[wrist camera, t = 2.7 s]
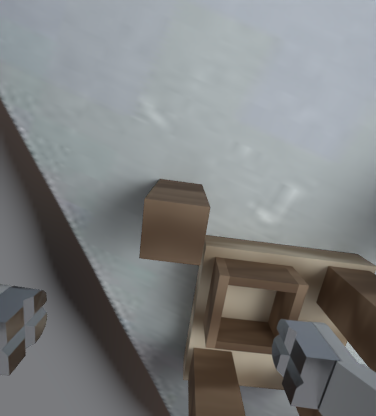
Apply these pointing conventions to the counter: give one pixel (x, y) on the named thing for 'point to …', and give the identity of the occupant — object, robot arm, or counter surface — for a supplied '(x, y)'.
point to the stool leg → (174, 222)
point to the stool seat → (268, 315)
